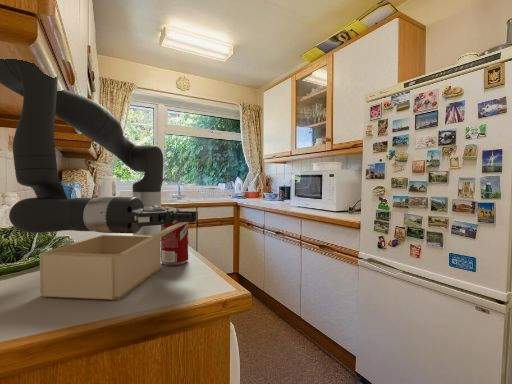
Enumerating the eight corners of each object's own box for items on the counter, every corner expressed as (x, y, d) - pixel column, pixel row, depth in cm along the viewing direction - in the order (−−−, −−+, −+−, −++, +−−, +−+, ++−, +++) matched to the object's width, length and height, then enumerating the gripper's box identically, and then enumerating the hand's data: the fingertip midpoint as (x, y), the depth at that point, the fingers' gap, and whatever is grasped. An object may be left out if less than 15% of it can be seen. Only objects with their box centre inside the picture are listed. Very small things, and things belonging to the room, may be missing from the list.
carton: (101, 266, 67) (100, 234, 67) (161, 268, 66) (161, 235, 65) (35, 297, 49) (34, 253, 49) (117, 301, 48) (116, 256, 47)
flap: (160, 234, 64) (194, 216, 63) (161, 236, 64) (195, 218, 63) (120, 252, 48) (165, 228, 47) (122, 255, 48) (167, 230, 47)
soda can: (174, 268, 66) (174, 219, 65) (155, 264, 69) (154, 217, 68) (193, 261, 72) (193, 216, 71) (175, 257, 75) (174, 214, 74)
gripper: (93, 199, 50) (185, 200, 48) (132, 195, 63) (205, 196, 61) (94, 239, 50) (185, 242, 49) (132, 227, 63) (205, 229, 62)
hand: (196, 216), depth 55 cm, fingers closed
